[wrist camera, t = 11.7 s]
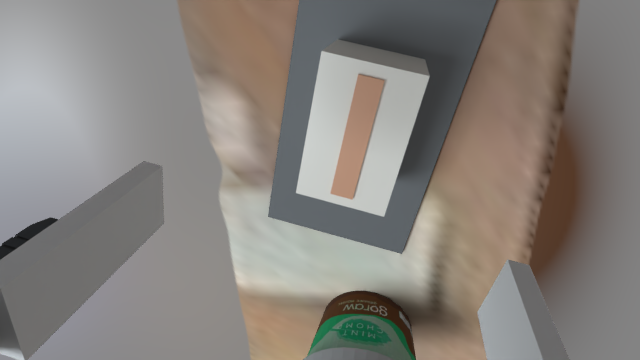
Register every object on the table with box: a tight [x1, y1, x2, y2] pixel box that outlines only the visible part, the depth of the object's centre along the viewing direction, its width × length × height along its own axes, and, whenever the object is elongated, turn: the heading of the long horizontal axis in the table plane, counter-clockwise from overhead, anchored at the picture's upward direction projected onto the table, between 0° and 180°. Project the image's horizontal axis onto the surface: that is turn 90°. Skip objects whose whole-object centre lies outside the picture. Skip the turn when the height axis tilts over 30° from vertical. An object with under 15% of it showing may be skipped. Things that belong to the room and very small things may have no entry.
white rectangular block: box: [296, 39, 430, 217], centre depth 27 cm, size 10×6×6 cm, turn 169°
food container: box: [303, 291, 416, 360], centre depth 35 cm, size 12×6×10 cm, turn 104°
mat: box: [268, 0, 496, 254], centre depth 30 cm, size 24×13×1 cm, turn 169°
